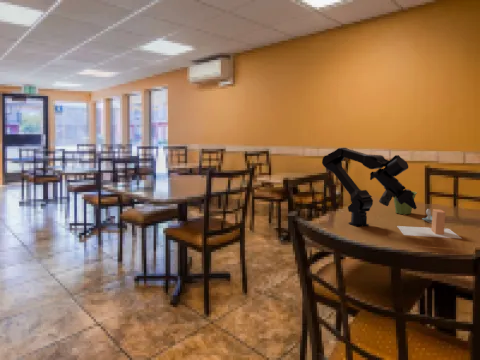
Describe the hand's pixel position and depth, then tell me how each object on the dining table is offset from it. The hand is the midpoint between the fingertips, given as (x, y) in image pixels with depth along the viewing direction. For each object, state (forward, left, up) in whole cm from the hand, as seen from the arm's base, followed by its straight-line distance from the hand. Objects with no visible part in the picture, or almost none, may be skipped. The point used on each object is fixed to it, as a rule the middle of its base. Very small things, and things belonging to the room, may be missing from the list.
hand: (415, 208), depth 133 cm
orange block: (+4, +8, -10) cm, 13 cm away
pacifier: (-10, +22, -11) cm, 26 cm away
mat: (+2, +5, -10) cm, 11 cm away
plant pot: (-29, +24, -10) cm, 39 cm away
